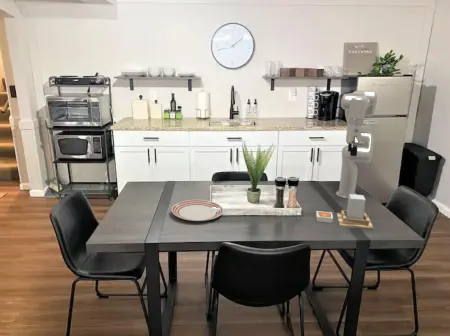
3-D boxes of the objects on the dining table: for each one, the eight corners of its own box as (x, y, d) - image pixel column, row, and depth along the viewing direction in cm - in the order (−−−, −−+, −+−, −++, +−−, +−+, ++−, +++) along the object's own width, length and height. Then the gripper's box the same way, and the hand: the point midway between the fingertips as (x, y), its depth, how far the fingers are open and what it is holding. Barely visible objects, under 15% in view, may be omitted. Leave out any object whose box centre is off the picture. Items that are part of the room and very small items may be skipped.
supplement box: (362, 223, 183) (366, 199, 180) (347, 221, 185) (350, 198, 181) (360, 217, 190) (363, 194, 187) (345, 216, 192) (348, 193, 188)
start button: (319, 215, 193) (319, 211, 192) (328, 216, 192) (329, 212, 191) (319, 219, 188) (319, 215, 187) (329, 220, 187) (329, 216, 186)
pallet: (336, 214, 196) (337, 208, 195) (367, 217, 193) (368, 211, 192) (339, 226, 181) (340, 220, 180) (373, 230, 178) (374, 223, 177)
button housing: (315, 215, 195) (316, 210, 194) (331, 216, 193) (331, 212, 192) (316, 221, 187) (317, 216, 186) (332, 223, 186) (333, 218, 185)
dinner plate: (233, 214, 194) (234, 208, 193) (196, 230, 174) (196, 223, 173) (198, 201, 212) (198, 196, 211) (160, 214, 192) (160, 208, 191)
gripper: (366, 124, 178) (362, 158, 183) (360, 119, 195) (357, 150, 199) (350, 123, 180) (346, 157, 185) (346, 118, 196) (342, 149, 201)
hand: (352, 153), depth 192 cm, fingers open, 9 cm apart
